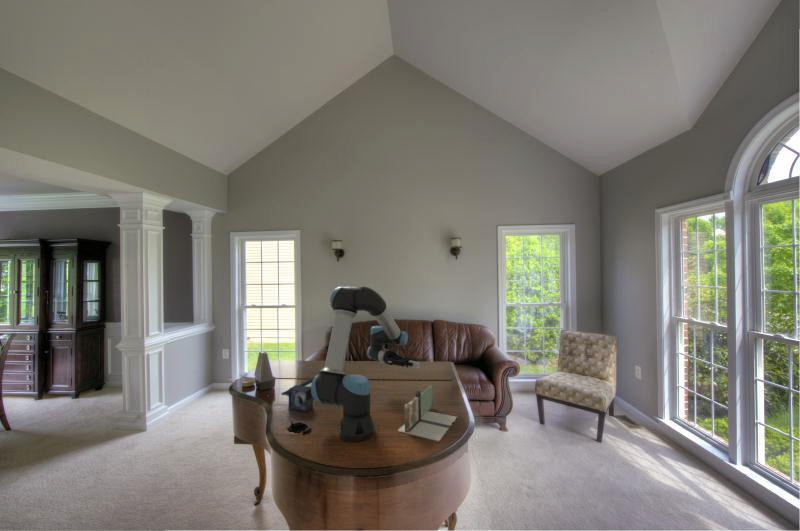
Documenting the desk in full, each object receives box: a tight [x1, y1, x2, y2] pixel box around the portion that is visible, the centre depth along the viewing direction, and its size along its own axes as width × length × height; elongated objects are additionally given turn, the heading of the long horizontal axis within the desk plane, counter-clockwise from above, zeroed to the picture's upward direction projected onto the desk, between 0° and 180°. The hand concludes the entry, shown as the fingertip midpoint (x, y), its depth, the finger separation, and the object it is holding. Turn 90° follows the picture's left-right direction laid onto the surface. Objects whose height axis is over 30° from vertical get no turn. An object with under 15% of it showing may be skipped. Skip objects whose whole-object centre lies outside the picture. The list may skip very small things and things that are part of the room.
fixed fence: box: [404, 390, 422, 432], centre depth 145 cm, size 14×3×14 cm, turn 153°
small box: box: [288, 384, 314, 413], centre depth 165 cm, size 11×6×10 cm, turn 73°
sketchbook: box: [280, 377, 315, 400], centre depth 194 cm, size 22×30×2 cm
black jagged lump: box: [287, 420, 312, 435], centre depth 142 cm, size 12×10×5 cm
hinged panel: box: [420, 384, 434, 417], centre depth 158 cm, size 15×2×10 cm, turn 153°
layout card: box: [397, 410, 458, 442], centre depth 147 cm, size 24×19×1 cm
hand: (418, 365), depth 163 cm, fingers closed
